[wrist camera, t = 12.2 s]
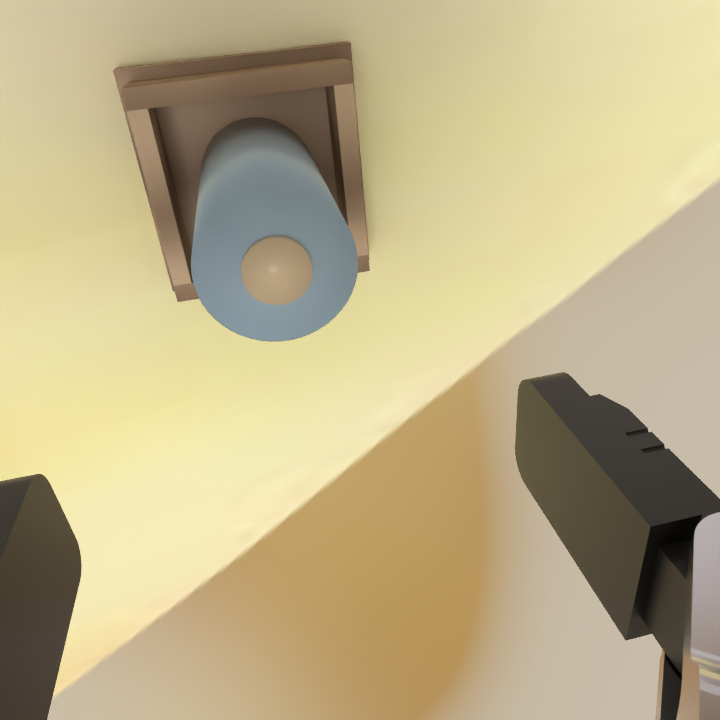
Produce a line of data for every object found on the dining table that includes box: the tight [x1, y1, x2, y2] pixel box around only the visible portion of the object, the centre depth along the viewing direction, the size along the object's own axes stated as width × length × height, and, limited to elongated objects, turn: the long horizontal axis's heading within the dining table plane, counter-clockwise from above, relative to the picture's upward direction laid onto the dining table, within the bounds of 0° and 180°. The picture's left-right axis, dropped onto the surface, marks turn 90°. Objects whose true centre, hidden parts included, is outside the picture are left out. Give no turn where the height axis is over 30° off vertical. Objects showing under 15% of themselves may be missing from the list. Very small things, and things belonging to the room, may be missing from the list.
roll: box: [191, 117, 358, 341], centre depth 24 cm, size 5×5×11 cm
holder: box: [113, 42, 370, 302], centre depth 28 cm, size 10×10×4 cm
